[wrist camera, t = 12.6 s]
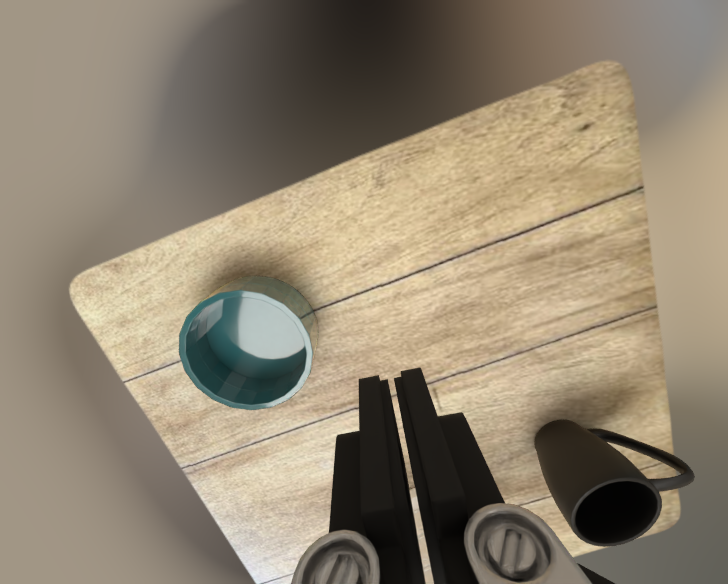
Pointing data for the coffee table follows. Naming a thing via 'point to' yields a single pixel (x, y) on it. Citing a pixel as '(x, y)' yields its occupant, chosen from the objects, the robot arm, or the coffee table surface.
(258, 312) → the bowl
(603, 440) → the mug
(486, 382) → the coffee table surface
